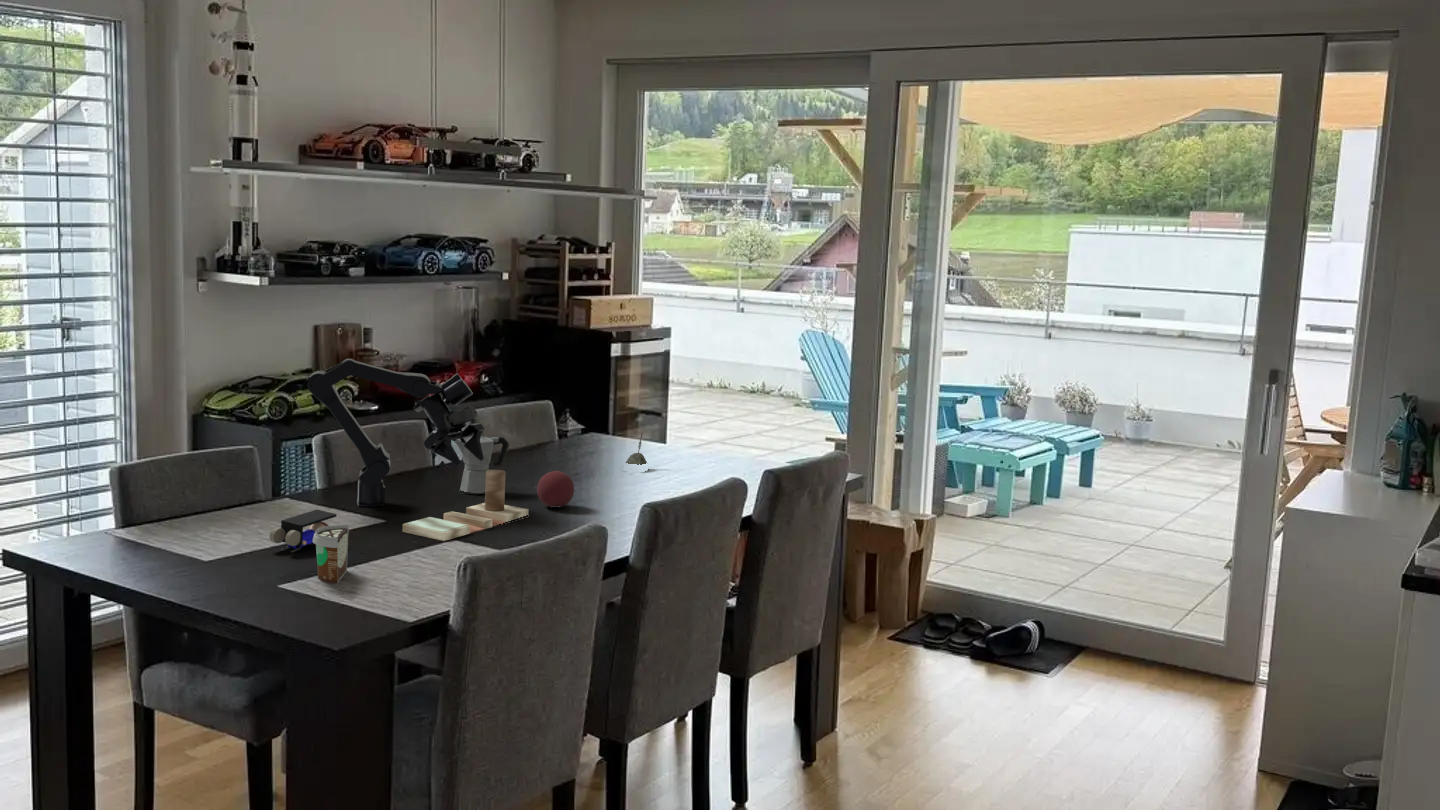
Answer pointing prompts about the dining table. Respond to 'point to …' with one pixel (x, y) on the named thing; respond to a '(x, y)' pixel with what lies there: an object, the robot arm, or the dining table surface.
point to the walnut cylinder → (495, 490)
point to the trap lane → (462, 522)
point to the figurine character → (300, 529)
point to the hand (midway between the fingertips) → (471, 462)
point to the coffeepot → (479, 463)
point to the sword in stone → (637, 457)
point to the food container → (331, 552)
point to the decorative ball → (555, 489)
